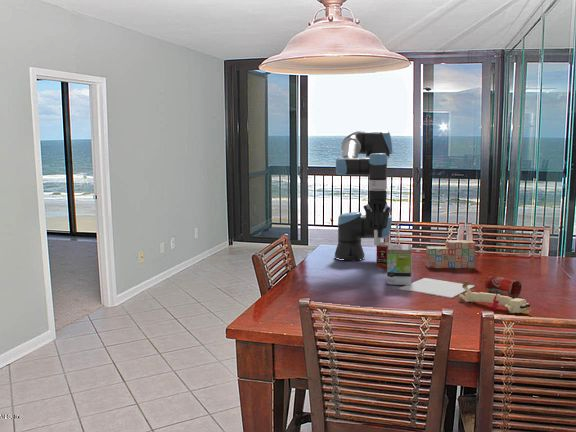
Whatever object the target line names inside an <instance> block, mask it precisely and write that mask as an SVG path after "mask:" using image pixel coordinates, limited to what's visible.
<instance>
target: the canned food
mask: <svg viewBox="0 0 576 432" xmlns="http://www.w3.org/2000/svg"><path fill="white" fill-rule="evenodd" d="M388 244H394V243H393V242H388V241H387V242H385V241H384V242H383V241H380V245H376V258H375V259H376V260H375V261H376V267H377V266H378V267H377V268H379V267H382V268H381V269H387V249H388Z"/></svg>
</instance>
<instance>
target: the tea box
mask: <svg viewBox="0 0 576 432" xmlns="http://www.w3.org/2000/svg"><path fill="white" fill-rule="evenodd" d="M386 283H387V285H393V286H394V285H395V286H396V285H399V286H400V285H401V286H406V285H411V283H412V245H411V244H406V243H405V244H403V243H402V244H396V243H395V244H394V243H393V244H388V249H387V268H386Z"/></svg>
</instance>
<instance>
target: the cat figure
mask: <svg viewBox="0 0 576 432" xmlns="http://www.w3.org/2000/svg"><path fill="white" fill-rule="evenodd" d="M462 284H463V285H462V288H464V289H465V290H466V291H465V292H464V295H463V293H461V294H459V295H458V297H459V298H458V302H461V303H463V302H464V301H465V302H467V303H468V302H470V303H488V304H489V303H490V304H491V306H492V309H493V310H494V312H495V311H496V312H497V311H498V310H497V309H498V307H499V306H504V308H506V309H507V311H508V312H509V313H511V314H516V313H517V314H520V313H521V314H524V315H525V314H529V313H530V312H531V311H532V309H527V308H529V307H531V304H530V302H527V300H526V299H525V298H520V297H517V298H516V297H514V298H511V297H509V296H507V295H506V294H505V293H504V292H502V293H503V294H504V295H505V296H503V295H500V294H494V293H490V292H482V291H480V292H474V291H473V292H472V290H471V289H469V288H468V287H467V286H468V285H471V284H470V281H469V280H465V281H464V282H463V283H462Z"/></svg>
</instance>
